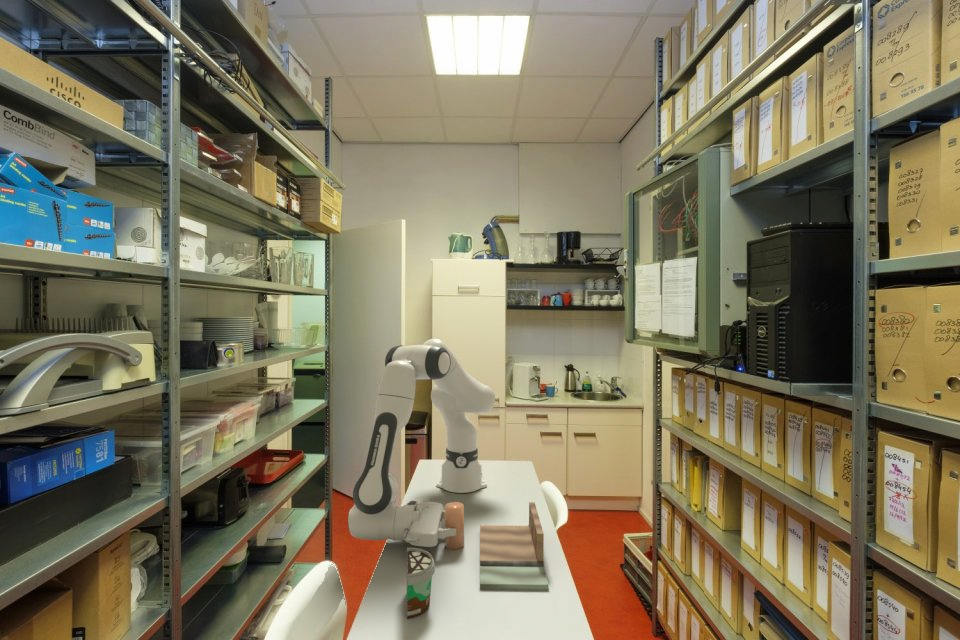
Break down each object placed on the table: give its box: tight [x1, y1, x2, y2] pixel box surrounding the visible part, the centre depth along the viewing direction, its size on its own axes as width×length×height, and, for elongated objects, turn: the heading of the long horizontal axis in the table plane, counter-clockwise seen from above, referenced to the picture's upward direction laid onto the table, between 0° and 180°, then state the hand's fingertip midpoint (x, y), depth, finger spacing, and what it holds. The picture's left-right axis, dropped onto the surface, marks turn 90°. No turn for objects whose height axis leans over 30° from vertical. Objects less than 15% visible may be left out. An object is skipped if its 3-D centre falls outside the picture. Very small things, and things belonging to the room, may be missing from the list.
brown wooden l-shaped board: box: [479, 501, 549, 591], centre depth 124 cm, size 29×16×9 cm, turn 0°
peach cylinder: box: [444, 501, 465, 551], centre depth 131 cm, size 5×5×11 cm
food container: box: [406, 547, 436, 620], centre depth 104 cm, size 12×6×10 cm, turn 9°
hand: (457, 523), depth 131 cm, fingers open, 8 cm apart
